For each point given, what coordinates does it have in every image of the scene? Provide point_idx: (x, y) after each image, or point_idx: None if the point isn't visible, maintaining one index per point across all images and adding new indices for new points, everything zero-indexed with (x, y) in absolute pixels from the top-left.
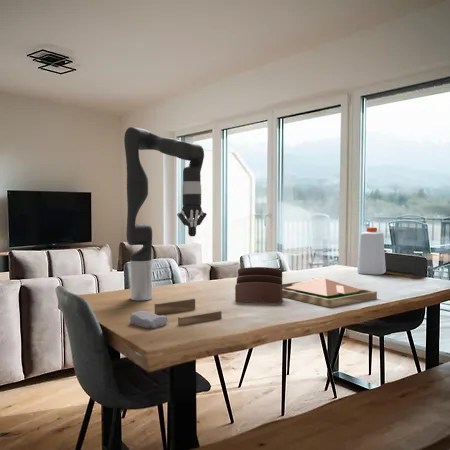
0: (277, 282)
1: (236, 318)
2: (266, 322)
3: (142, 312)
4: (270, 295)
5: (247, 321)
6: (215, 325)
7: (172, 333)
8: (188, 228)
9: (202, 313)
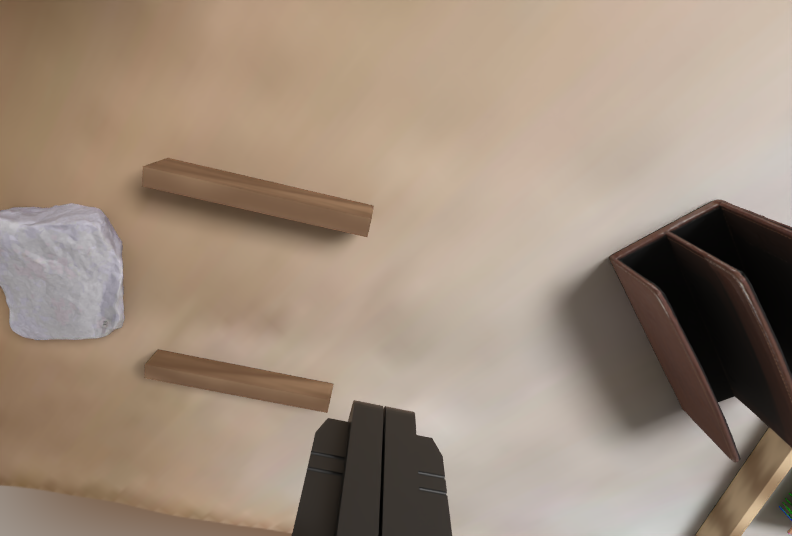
0: (785, 433)
1: None
2: None
3: (20, 259)
4: (686, 396)
5: None
6: (249, 437)
7: (85, 407)
8: (295, 523)
9: (251, 387)
